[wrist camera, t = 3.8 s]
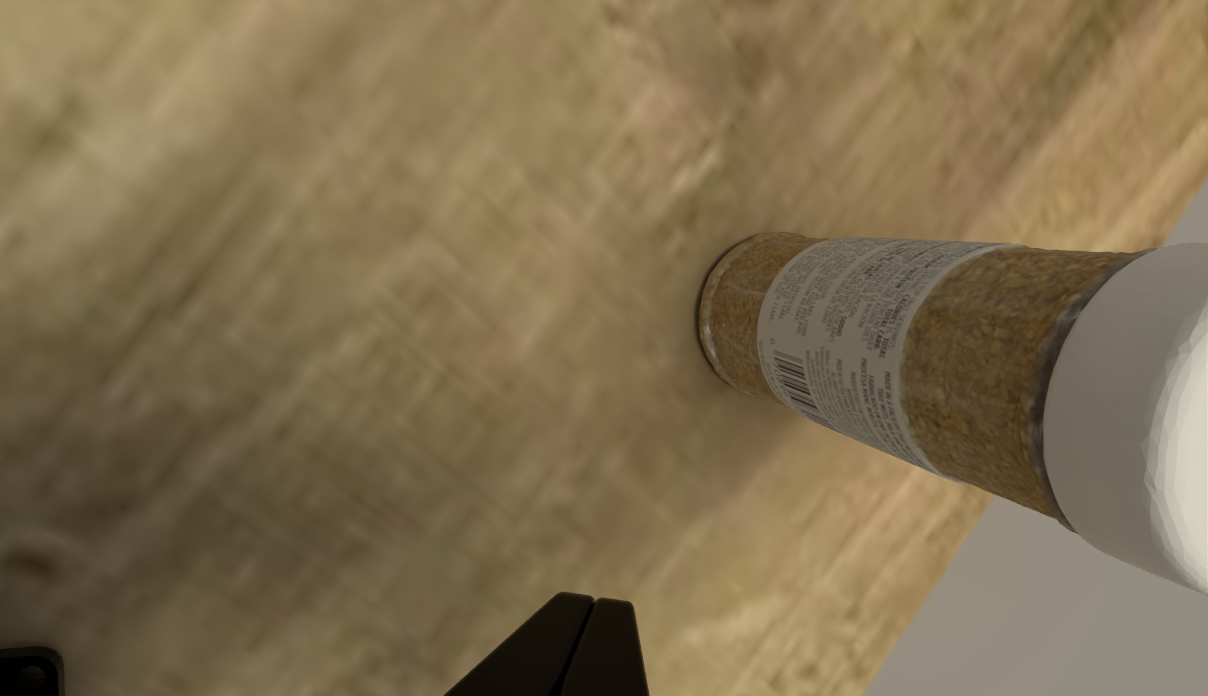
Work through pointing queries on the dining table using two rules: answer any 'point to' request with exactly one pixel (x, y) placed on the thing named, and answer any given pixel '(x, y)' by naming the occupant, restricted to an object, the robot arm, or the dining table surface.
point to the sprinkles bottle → (993, 371)
